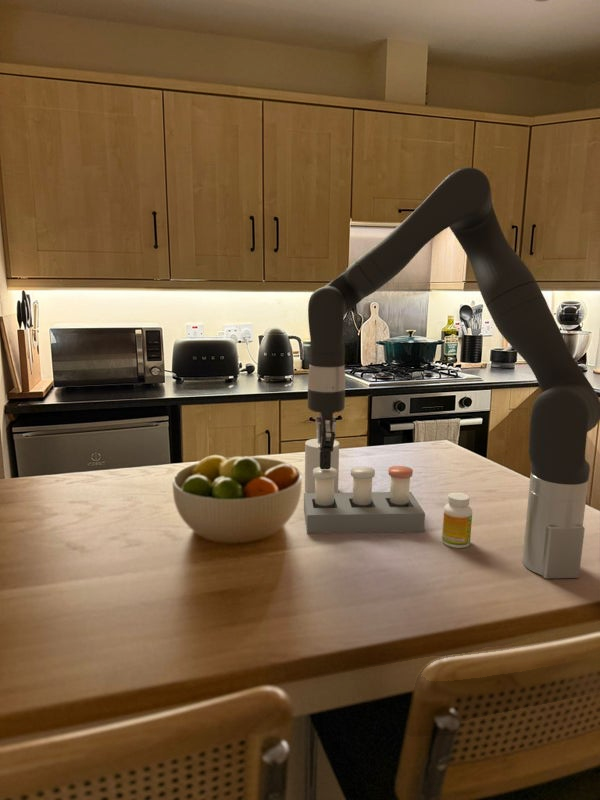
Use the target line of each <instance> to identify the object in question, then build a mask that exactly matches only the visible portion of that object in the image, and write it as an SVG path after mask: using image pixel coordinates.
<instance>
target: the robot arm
mask: <svg viewBox="0 0 600 800" xmlns="http://www.w3.org/2000/svg"><path fill="white" fill-rule="evenodd" d="M491 189H492V188H491V183H490V180H489V178H488V177H487V175H486V174H485V173H484V172H483V171H481V170H480V169H478V168H474V167H469V166H468V167H462V168H458V169H456V170H455V171H453V172H451V173H450V174H448V175H447V176H446V177H445V178H444V179H443V180H442V181H441V182H440V184H438V185H437V186H436V187H435V189H434V190H433V191H431V193H430V194H428V196H427V197H426V198H425V199H424V200H423V202H421V203H420V204H419V205H418V207H416V208H415V209H414V211H412V212H411V213H410V214H409V215H408V216H407V217H406V218H405V219H404V220H403V221H402V222H401V223H400V224H399V225H398V226H396V227H395V228H394V229H393V230H392V231H391V232H389V233H388V234H387V235H386V236H384V238H383V239H381V240H380V241H379V242H377V243H376V244H375V245H373V246H372V247H370V248H369V249H368V250H367V251H366V252H364V253H363V254H361V255H360V256H359V257H358V258H356V260H354V261H353V262H352V263H350V264H349V266H348V267H346V269H345V271H344V272H342V273H341V274H339V276H337V277H336V278H334V279H333V280H331V281H330V282H328V283H327V284H326V285H324V286H322V287H320V288H317V289H316V290H314V291H313V293H312V294H311V295H310V297H309V300H308V305H307V306H308V307H307V319H308V328H309V331H308V332H309V337H310V344H309V366H308V367H309V368H308V373H307V374H308V375H307V408H308V410H309V411H311V412H314V413H318V416H315V426H316V438H318V444H319V446H318V448H319V450H320V464H319V465H320V468H321V469H330V468H331V452H333V445H334V440H336V439H335V437H336V429H337V420H336V417H335V416H333V415H334V413H335V414H336V413H340V412H342V411H344V410H345V408H346V407H345V406H346V405H345V401H346V400H345V399H346V371H345V369H346V368H345V357H346V356H345V351H346V349H345V340H344V337H343V335H344V316H345V315H346V314H347V313H348V312H349V311H351V310H352V309H353V308H354V307H355V306H356V305H358V304H359V303H360V302H361V301H363V299H365V298H367V297H368V296H370V295H372V294H373V293H375V292H376V291H377V290H379V289H380V288H382V287H383V286H384V285H386V284H387V283H389V281H391V280H393V278H395V277H396V276H397V275H398V274H400V273H401V272H402V271H403V269H405V268H406V266H408V264H409V263H410V262H412V260H413V259H414V257H416V255H417V254H418V253H419V252H420V251H421V250H422V249H423V248H424V247H425V246H426V245H427V244H428V243H429V242H430V241H431V240H433V239H434V238H435V237H436V236H438V235H439V234H440V233H441V232H443V231H445V230H446V229H448V228H449V229H450V230H451V232H452V234H453V235H454V237H455V238H456V239H457V241H458V243H459V245H460V246H461V248H462V250H463V251H464V253H465V255H466V256H467V259H468V260H469V263H470V266H471V268H472V269H471V270H472V271H473V275H474V277H475V282H476V285H477V287H478V289H479V292H480V295H481V298H482V299H483V302H484V305H485V306H486V308H487V311H488V312H489V315H490V316H491V319H492V321H493V323H494V324H495V326H496V328H497V330H498V332H499V333H500V335H501V337H503V338H504V340H505V341H506V342H507V343H508V344H509V345H510V346H511V347H512V348H513V350H514V351H516V353H518V355H520V357H522V359H523V360H524V361H525V362H526V364H527V365H528V367H529V368H530V369H531V371H532V373H533V375H534V377H535V378H536V379H535V380H536V381H537V383H538V385H539V388H540V390H541V393H540V394H539V395H538V396H537V398H536V399H535V400H534V403H533V404H532V407H531V412H530V420H529V421H530V422H529V434H528V435H529V437H528V458H529V460H530V463H531V464H530V465H531V466H530V467H531V468H530V477H529V488H528V498H527V499H528V500H527V507H526V510H527V511H526V519H525V527H524V528H525V529H524V537H523V538H524V540H523V541H524V542H523V549H522V563H523V565H524V566H525V568H527V569H528V570H530V571H531V572H533V573H535V574H538V575H541V577H543V578H544V579H579V578H580V571H581V565H582V564H581V562H582V554H583V547H584V538H585V530H586V529H585V527H584V520H585V511H586V504H587V503H586V501H587V494H588V486H589V485H588V484H589V477H590V471H591V469H590V468H591V467H590V466H591V465H590V463H589V462H588V461H587V460H586V450H587V449H586V448H587V437H588V436H587V435H588V433H589V432H590V431H592V430H593V429H594V428H595V427H596V426H597V425H598V424H599V422H600V398H599V397H600V396H599V395H598V393H597V392H596V389H595V388H594V387H593V386H592V384H591V383H590V381H589V380H588V378H587V377H586V375H585V374H584V372H583V370H582V369H581V368H580V366H579V365H578V363H577V361H576V359H575V358H574V357H573V355H572V353H571V351H570V350H569V347H568V346H567V343H566V341H565V339H564V336H563V334H562V332H561V330H560V327H559V325H558V324H557V321H556V320H555V318H554V316H553V314H552V312H551V310H550V307H549V304H548V302H547V300H546V297H545V296H544V294H543V292H542V290H541V289H540V286H539V284H538V282H537V280H536V278H535V276H533V274H532V272H531V270H530V268H529V267H528V266H527V265H526V263H525V262H524V261H523V260H522V259H521V257H520V256H519V255H518V254H517V252H516V251H515V250H514V248H513V247H511V245H510V243H509V242H508V240H507V238H506V236H505V234H504V232H503V230H502V227H501V225H500V222H499V220H498V218H497V214H496V212H495V209H494V204H493V199H492V190H491Z"/></svg>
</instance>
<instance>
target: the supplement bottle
mask: <svg viewBox="0 0 600 800" xmlns="http://www.w3.org/2000/svg"><path fill="white" fill-rule="evenodd" d="M443 507H444V508H443V518H442V533H441V541H442V543H443V544H445V545H446V546H447V547H450V548H454V549H455V548H456V549H463V548H467V547H469V546H470V545H471V535H472V523H473V522H472V520H473V509H472V507H471V506H470V495H468V494H466V493H463V492H450V493H448V495H447V503H446V504H445V505H444V506H443Z"/></svg>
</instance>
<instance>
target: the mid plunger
mask: <svg viewBox="0 0 600 800" xmlns="http://www.w3.org/2000/svg"><path fill="white" fill-rule="evenodd" d="M350 476H351V477H352V492H353V503H355V504H357V505H368V504H371V500H372V492H373V478H374V477H375V476H376V470H375V469H374V468H373V467H370V466H362V465H361V466H354V467H352V468H351V469H350Z"/></svg>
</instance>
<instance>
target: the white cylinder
mask: <svg viewBox="0 0 600 800" xmlns="http://www.w3.org/2000/svg"><path fill="white" fill-rule="evenodd" d="M304 445H305V446H304V448H305V449H304V491H305V492H304V493H315V477H314V476H313V469H315V468H317V467H320V465H319V464H320V450H319V448H318V446H319V444H318V438H317V437H316V438H311V439H307V440H306V441H305V442H304ZM331 467H332V468H335V469H336V470H337V476H336V477H335V478H334V493H339V476H340V475H339V467H340V442H339V441H338V440H336V439H335V440H334V445H333V452H331Z"/></svg>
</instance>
